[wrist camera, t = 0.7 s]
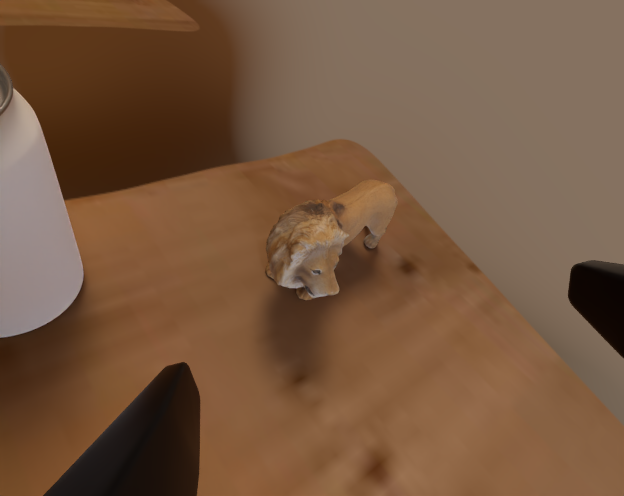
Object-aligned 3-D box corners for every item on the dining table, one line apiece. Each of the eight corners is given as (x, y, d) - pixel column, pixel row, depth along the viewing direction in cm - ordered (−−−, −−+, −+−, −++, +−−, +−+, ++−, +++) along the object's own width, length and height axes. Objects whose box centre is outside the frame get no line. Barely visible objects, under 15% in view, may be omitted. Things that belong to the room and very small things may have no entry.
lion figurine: (287, 355, 22) (344, 283, 15) (224, 300, 23) (251, 207, 16) (388, 233, 32) (451, 154, 25) (340, 196, 32) (389, 110, 26)
